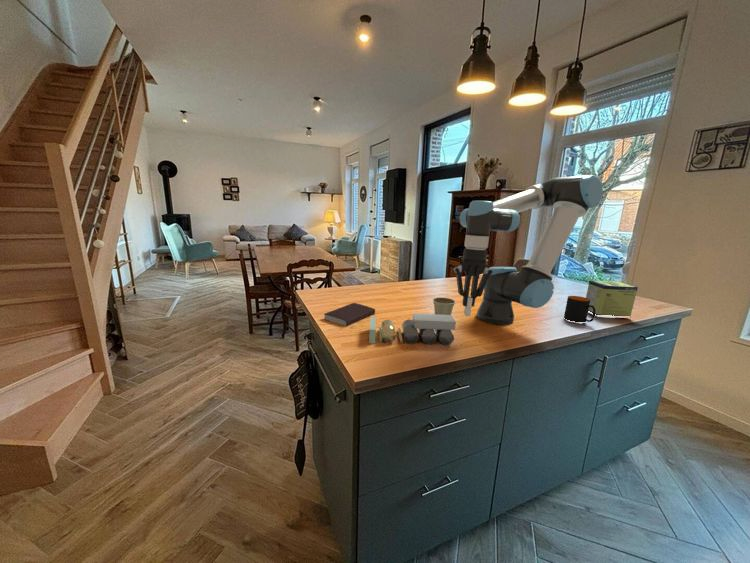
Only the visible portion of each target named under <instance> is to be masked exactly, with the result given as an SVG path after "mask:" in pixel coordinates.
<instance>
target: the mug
mask: <svg viewBox="0 0 750 563" xmlns="http://www.w3.org/2000/svg"><path fill="white" fill-rule="evenodd" d="M566 300H567V301H566V304H565V311H564V313H563V314H564V316H563V319H564V318H565V319H567V320H570V321H575V322H586V323H587V322H588V323H590V322H591V323H592V322H593V321H594V320H595V318H596V317H595V312H596V310H595V308H594V306H592V305H589V304H590V299H588V298H586V297H585V296H584V297H583V296H579V295H568V296H567V298H566ZM589 307H592V308H593V315H591V318H590V319H588V318H587V317H588V314H589V313H588V309H589Z"/></svg>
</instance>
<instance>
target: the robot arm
mask: <svg viewBox="0 0 750 563" xmlns="http://www.w3.org/2000/svg"><path fill="white" fill-rule="evenodd" d="M602 183H603V182H602V181H601V179H600V178H599V177H598V176H597V175H594V174H590V175H589V174H583V175H574V176H559V177H553V178H550V179H547V180H544V181H541V182H538V183H536V184H535V183H534V184H533V185H530V186H528V187H527V188H526V189H525V190H523V191H521V192H520V191H519V192H518V193H514V194H512V195H510V196H509V195H508V196H506V197H504V198H500V199H498V200H495V201H491V200H490V201H489V200H472V201H471V202H469V206H468V208H465V209H463V210H462V211H461V213H460V215H459V224H460V225H461V226H462V227H463V228H466V229H465V230H466V231H465V239H464V247H465V248H464V249H463V253H462V254H463V255H462V261H461V262H460V265H457V267H456V266H454V267H453V271H454V273H455V277H456V285H457V293H458V295H460V296H462V303H461V304H462V306H463V307H464V308H463V314H464V316H466V317H471V313H472V308H473V307H475V303H476V299H477V298H478V297H481V296H482V295H483V297H482V301H481V303H480V305H479V306H478V309H477V311H476V317H477V319H479V320H480V321H482V322H484V323H485V322H486V323H487V324H488V323H489V324H493V325H501V326H502V325H503V326H504V325H505V326H506V325H511V324H513V323H514V321H515V313H514V310H513V304H512V303H517V304H520V305H522V306H524V307H527V308H528V307H529V308H532V309H539V308H541V307H544V306H545V305H546V304H548V303H549V301H550V300H551V299H552V297H553V294H554V291H555V290H554V289H555V286H554V283H553V276H552V273H551V272H552V270H553V268H554V267H555V265H556V263H557V260H558V259H559V257H560V255H561V253H562V251H563V249H564V248H565V245H566V243H567V241H568V239H569V237H570V236H571V233H572V232H573V230H574V228H575V226H576V224H577V222H578V220H579V218H581V217H584V216H585V215H586V214H587V212H588V210H589V209H593V208H595V207H597V206H599V204H600V203H601V201H602V197H603V191H604V190H603V184H602ZM549 207H550V208H553V211H554V212H553V214H552V215H551V217H550V218H549V221H548V223H547V225H546V227H545V229H544V231H543V232H542V235H541V237H540V239H539V241H538V243H537V245H536V246H535V248H534V251H533V252H532V254H531V257H530V258H529V259H528V260H529V261H528V262H527V264H526V265H523V266H521V267H520V269H519V271H518V270H517V268H516V267H514V266H491V267H489V268H488V267H487V261H486V260H487V256H488V255H487V254H488V250H487V249H488V248H489V243H490V242H489V240H490V233H491V232H504V233H507V232H513V231H515V230H517V228H518V227H519V225H520V222H521V216H520V214H519V213H521V212H525V211H528V210H529V209H531V210H537V209H539V208H549ZM462 271H463V272H464V277H465V278H464V285H463V278H462ZM482 273H483V274H482ZM481 274H482V276H481V278H480V275H481ZM479 280H480V281H479ZM470 287H471V288H470ZM469 294H470V295H469Z"/></svg>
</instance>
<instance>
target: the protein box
mask: <svg viewBox="0 0 750 563" xmlns="http://www.w3.org/2000/svg"><path fill="white" fill-rule="evenodd" d="M638 287H639V286H635V285H632V284H629V283H626V282H622V281H610V280H609V281H608V280H607V281H606V280H605V281H604V280H589V281H588V286H587V290H586V295H585V298H588V299H590V304H589V305H592V306H594V308H595V310H596V312H595V314H596V315H612V316H613V315H614V316H630V317H631V316H632V312H633V308H634V305H635V301H636V300H635V299H636V295H637V292H638V289H639V288H638ZM588 311H590V312H592V313H593V308H592V307H589V309H588Z"/></svg>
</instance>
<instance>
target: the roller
mask: <svg viewBox="0 0 750 563" xmlns="http://www.w3.org/2000/svg"><path fill="white" fill-rule="evenodd" d="M380 328H381V333H382V342H384V343H387V344H391V343H393V342H394V341H396V337H397V336H396V329H395V324H394V322H393V320H390V319H385V320H383V321H382V322H381V326H380Z"/></svg>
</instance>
